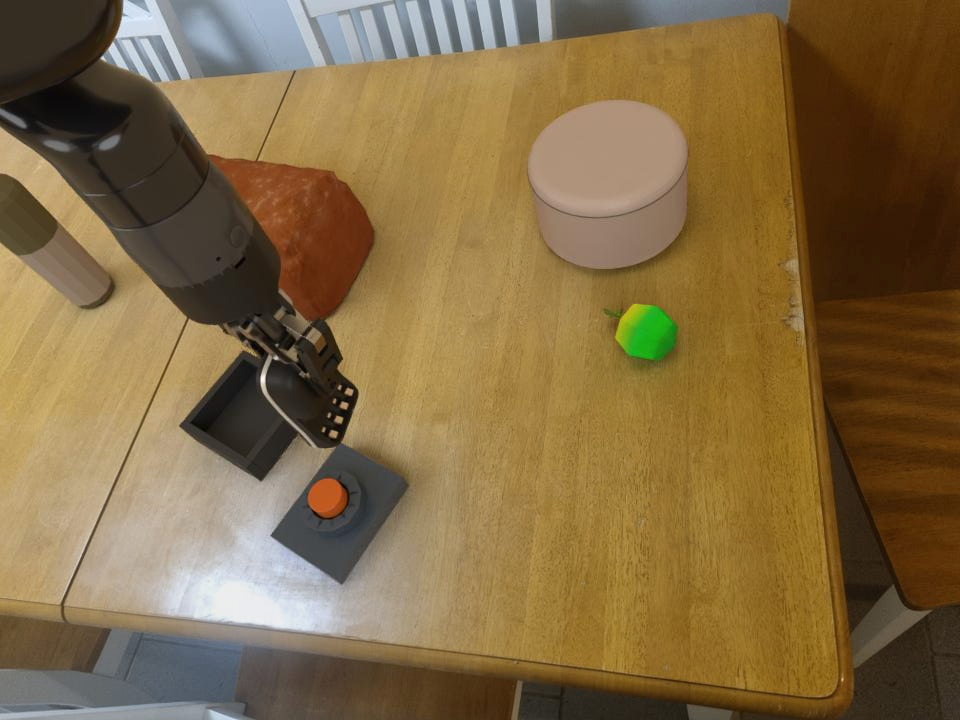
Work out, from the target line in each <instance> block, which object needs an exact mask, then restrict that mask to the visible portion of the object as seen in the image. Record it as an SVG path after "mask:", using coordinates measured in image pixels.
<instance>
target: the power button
mask: <svg viewBox="0 0 960 720" xmlns="http://www.w3.org/2000/svg"><path fill="white" fill-rule="evenodd" d="M347 501H348V495H347V492H346V490H345V489H344V487H343V486H342V485H341V484H340V483H339V482H338V481H336V480H334V479H331V478H326V479H322V480H320V481H318V482H317V483H315V484H314V485H313V487H312V488H311V490H310V492H309V495H308V503H309V505H310V507H311V508H312V509H313V510H314V511H315V512H316V513H317V514H318V515H320V516H321V517H324V518H332V517H335V516H337V515H338V514H340V513H341V512H342V511H343V510H344V508H345V507H346V505H347Z"/></svg>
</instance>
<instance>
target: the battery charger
mask: <svg viewBox="0 0 960 720" xmlns="http://www.w3.org/2000/svg"><path fill="white" fill-rule="evenodd" d="M309 324H310V325H311V324H312V323H310V322H309ZM290 336H291V334H290V333H289V335H288V336H287V337H286V338H285V339H284V341H283V342H281V343H279V344H275V345H276V346H277V347H278V348H280V347H281V346H282V345H283V344H284V343H285V342H286V340H287V339H288V338H289V337H290ZM297 358H298V359H299V360H300V361H301V362H302V360H301V358H300V357H299V355H298V354H297ZM339 365H340V364H338V366H337V367H336V368H335V369H334V370H335V371H336V372H337V374H338V375H339V377H340V378H341V383H340V385H339V386H338V387H337V389H336V390H335V391H334V392H333V394H332V395H331V396H330V397H329V398H328V399H326V400H324V399H322V398H320V397H318V396H317V395H316V394H315V392H314V391H313V390H312V389H311V388H310V386H309V385H308V384H307V383H306V381H305V380H304V379H303V378H302V377H301V376H300V375H299V373H298V372H297V371H296V370H295V369H294V368H293V367H292V366H291V365H290V364H285V363H282V362H279V361H276V360H275V359H274V358H273V357H272V356H271V355H270V354H268V353H267V352H266V351H265V353H264V355H263V358H262V360H261V362H260V364H259V367H258V370H257V373H256V386H257V389H258V391H259V393H260V394H261V396H262V397H263V398H264V399H265V400H266V402H267V403H268V404H269V405H270V406H271V407H272V408H273V409H274V410H275V412H276V413H277V414H278V415H279V416H280V417H282V418H283V419H284V420H285V421H286V422H287V423H288V424H289V425H290V426H291V427H292V428H293V429H294V430H295V431H296V432H297V433H298V434H297V435H299V437H301V439H303V441H304V442H305V443H306V444H307V445H308V446H309V447H311V448H313V449H324V450H325V449H332V448H336V446H338V445H339V444H340V443H343V440H344V438H345V435H346V433H347V430H348V427H349V424H350V422H351V419H352V417H353V414H354V411H355V408H356V405H357V404H358V403H357V402H358V400H359V397H360V396H359V395H360V392H359V389H358V388H357V386H356V385H355V384H354V383H353V382H352V381H351V380H349V379H348V378H347V377H346V376H345V375H343V374H342V373H341V372H340V371H339V369H338V367H339Z"/></svg>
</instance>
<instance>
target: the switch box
mask: <svg viewBox="0 0 960 720" xmlns="http://www.w3.org/2000/svg"><path fill="white" fill-rule="evenodd" d="M326 478H331V479H334V480H336V481H338V482H339V483H340V484H341V485H342V486H343V487H344V489H345V490H346V492H347V495H348V501H347V505H346V507H345V508H344V510H343V511H342V512H341V513H340V514H338V515H337V516H335V517H332V518H324V517H321V516H320V515H318V514H317V513H316V512H315V511H314V510H313V509H312V508H311V507H310V505H309V503H308V495H309V492H310V490H311V488H312V487H313V485H314V484H315V483H317V482H318V481H320V480H322V479H326ZM409 487H410V484H409V483H408V482H407V480H406V479H405V477H404V476H402V475H400V474H398V473H397V472H395V471H393V470H392V469H389V468H388V467H386V466H384V465H382V464H381V463H379V462H377V461H375V460H374V459H372V458H370V457H368V456H366V455H365V454H362V453H361V452H359V451H358V450H355V449H354V448H352V447H350V446H348V445H346V444H344V443H343V442H341V443H340V444H339V445H338V446H336V447H334V449H333V450H332V452H331V453H330V454H329V456H328V457H327V459H325V460H324V463H323V464H322V465H321V467H320V468H319V469H318V470H317V472H316V473H315V475H314V476H313V477H312V479H311V480H310V481H309V483H308V484H307V485H306V487H305V488H304V489H303V491H302V492H301V493H300V495H299V496H298V498H297V499H296V500H295V501H294V503H293V504H292V505H291V507H290V508H289V510H288V511H287V512H286V513H285V515H284V516H283V518H282V519H281V520H280V521H279V523H278V524H277V526H276V527H275V529H274V530H273V531H272V532H271V533H270V535H269V536H270V538H272V539H273V540H275V541H276V542H277V543H279V544H280V545H282V546H283V547H284V548H286V549H288V550H289V551H291V552H292V553H294V554H295V555H297V556H298V557H299V558H301V559H302V560H304V561H305V562H307V563H308V564H310V565H311V566H313V567H314V568H316V569H317V570H318V571H320V572H322V573H323V574H324V575H326V576H328V577H329V578H330V579H332V580H333V581H334V582H336V583H338V584H339V585H341V586H342V585H343V584H344V582H345V581H346V580H347V578H348V576H349V575H350V573H351V572H352V570H353V569H354V567H355V566H356V564H357V563H358V562H359V560H360V559H361V557H362V556H363V554H364V553H365V551H366V550H367V549H368V547H369V545H370V544H371V543H372V542H373V540H374V538H375V537H376V536H377V534H378V532H379V531H380V529H381V528H382V526H383V525H384V523H385V522H386V521H387V519H388V517H390V515H391V513H392V511H393V510H395V507H396V506H397V505H398V503H399V502H400V500H401V499H402V497H403V496H404V494H405V493H406V492H407V490H408V489H409Z"/></svg>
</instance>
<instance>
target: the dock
mask: <svg viewBox="0 0 960 720" xmlns="http://www.w3.org/2000/svg"><path fill="white" fill-rule="evenodd" d="M260 362H261V359H260V358H259V356H256V355H254V354H253V353H250V352H248V351H247V350H245V349H242V351H241V352H240V353H239V354H238V355H237V357H235V359H233V361H232V362H231V364H229V366H228V367H227V368H226V369H225V371H224V372H223V373H222V374H221V375H220V377H219V378H218V379H217V380H216V381H215V382H214V383H213V385H212V386H211V387H210V388H209V389H208V391H207V392H206V393H205V394H204V395H203V397H202V398H201V399H200V400H199V401H198V402H197V404H196V405H195V406H194V407H193V408H192V409H191V411H190V412H189V413H188V414H187V416H186V417H185V418H184V419H183V420H182V421H181V422H180V424H179V425H178V427H179V428H180V429H181V430H182V431H183V432H185V433H186V434H187V435H188V436H190V437H191V438H192V439H193V440H195V441H196V442H198V443H199V444H201V445H202V446H204V447H206V448H208V449H209V450H210V451H212V452H214V453H215V454H217V456H220V457H221V458H223V459H225V460H226V461H227V462H230V463H231V464H233V465H234V466H236V467H237V468H239V469H240V470H242V471H244V472H245V473H247V474H248V475H250V476H251V477H253V478H254V479H256V480H258V481H259V482H262V481H263V480H264V478H265V477H266V476H267V474H269V472H270V471H271V469H272V468H273V467H274V465H275V464H277V462H278V461H279V459H280V458H281V457H282V455H284V453H285V452H286V450H287V448H288V447H289V446H290V445H291V444H292V443H293V441H294V440H295V439H296V437H297V436H298V435H299V434H298V433H297V432H296V431H295V430H294V429H293V428H292V427H291V426H290V425H289V424H288V423H287V422H286V421H285V420H284V419H283V418H282V417H280V416H279V415H278V414H277V413H276V412H275V410H274V409H273V408H272V407H271V406H270V405H269V404H268V403H267V402H266V400H265V399H264V398H263V397H262V396H261V394H260V393H259V391H258V389H257V386H256V373H257V370H258V367H259V364H260Z"/></svg>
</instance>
